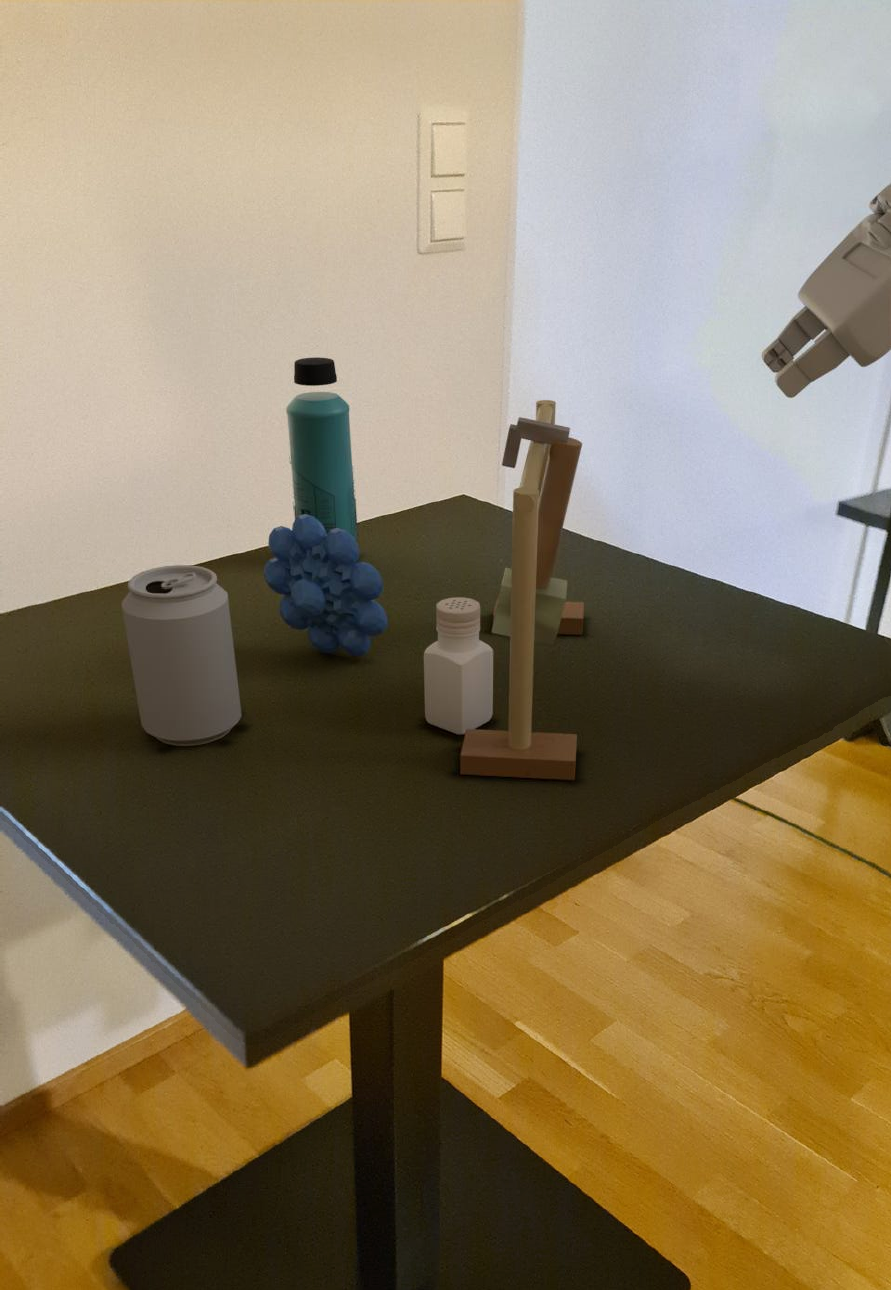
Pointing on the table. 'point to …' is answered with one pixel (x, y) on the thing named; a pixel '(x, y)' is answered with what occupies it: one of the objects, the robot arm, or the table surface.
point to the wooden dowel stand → (525, 648)
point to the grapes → (325, 586)
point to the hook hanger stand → (543, 525)
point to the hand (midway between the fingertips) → (773, 376)
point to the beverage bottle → (321, 449)
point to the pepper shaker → (458, 669)
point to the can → (182, 654)
